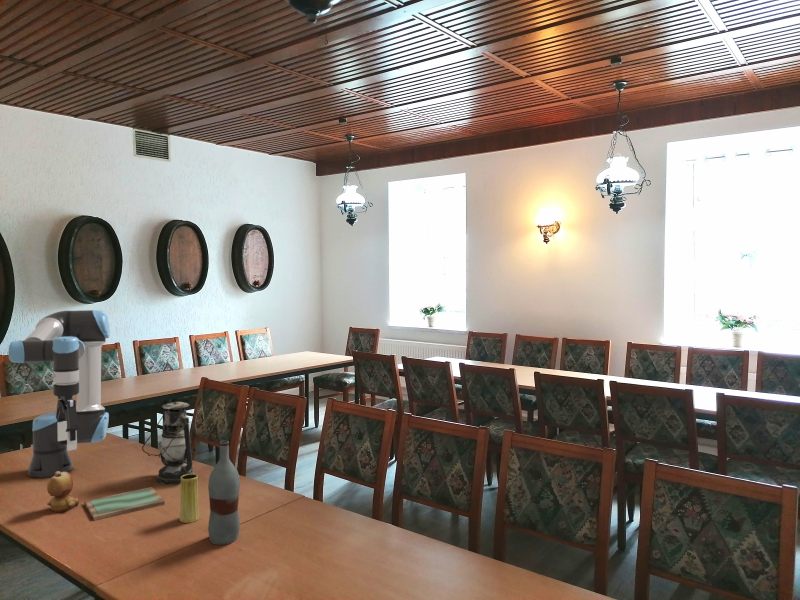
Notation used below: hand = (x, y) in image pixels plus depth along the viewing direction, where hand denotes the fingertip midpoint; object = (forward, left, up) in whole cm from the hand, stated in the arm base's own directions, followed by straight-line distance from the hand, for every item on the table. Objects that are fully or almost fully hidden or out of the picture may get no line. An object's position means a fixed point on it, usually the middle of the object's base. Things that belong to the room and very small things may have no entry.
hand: (67, 445), depth 193 cm
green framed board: (+8, +16, -22) cm, 28 cm away
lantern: (-7, +36, -22) cm, 43 cm away
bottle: (+53, +34, -22) cm, 66 cm away
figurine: (0, -2, -22) cm, 22 cm away
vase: (+33, +30, -22) cm, 50 cm away
